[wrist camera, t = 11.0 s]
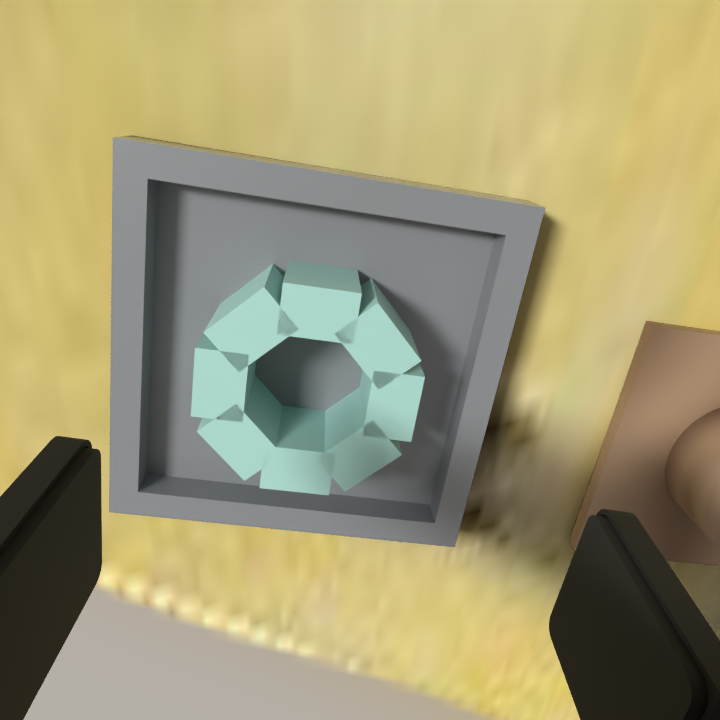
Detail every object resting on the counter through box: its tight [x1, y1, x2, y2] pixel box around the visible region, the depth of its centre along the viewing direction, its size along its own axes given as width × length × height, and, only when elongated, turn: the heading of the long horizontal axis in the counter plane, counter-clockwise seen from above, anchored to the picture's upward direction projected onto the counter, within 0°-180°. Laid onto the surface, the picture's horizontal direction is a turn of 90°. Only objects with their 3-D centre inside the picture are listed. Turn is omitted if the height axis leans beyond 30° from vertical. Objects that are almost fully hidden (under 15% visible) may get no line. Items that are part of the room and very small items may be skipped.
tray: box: [109, 136, 545, 547], centre depth 21 cm, size 13×13×2 cm
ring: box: [191, 260, 425, 495], centre depth 20 cm, size 7×7×3 cm
